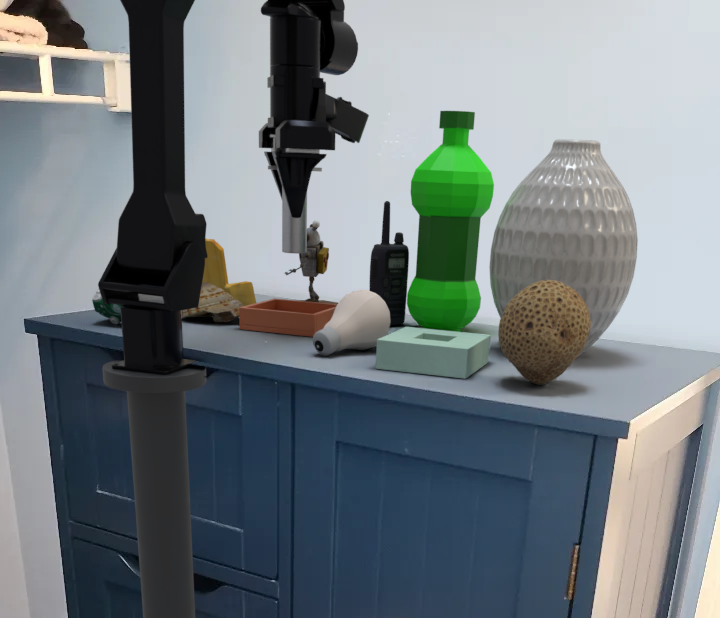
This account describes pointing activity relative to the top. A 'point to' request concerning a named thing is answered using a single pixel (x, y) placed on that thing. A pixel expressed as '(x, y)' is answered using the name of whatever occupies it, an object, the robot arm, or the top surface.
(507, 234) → the vase
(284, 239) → the silver cylinder with crossbar
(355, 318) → the light bulb
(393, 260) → the two-way radio
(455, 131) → the plastic bottle
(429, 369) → the green square holed block
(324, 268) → the robot figurine
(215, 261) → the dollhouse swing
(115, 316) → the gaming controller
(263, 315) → the dish
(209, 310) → the seashell
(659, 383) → the top surface
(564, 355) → the natural sponge
